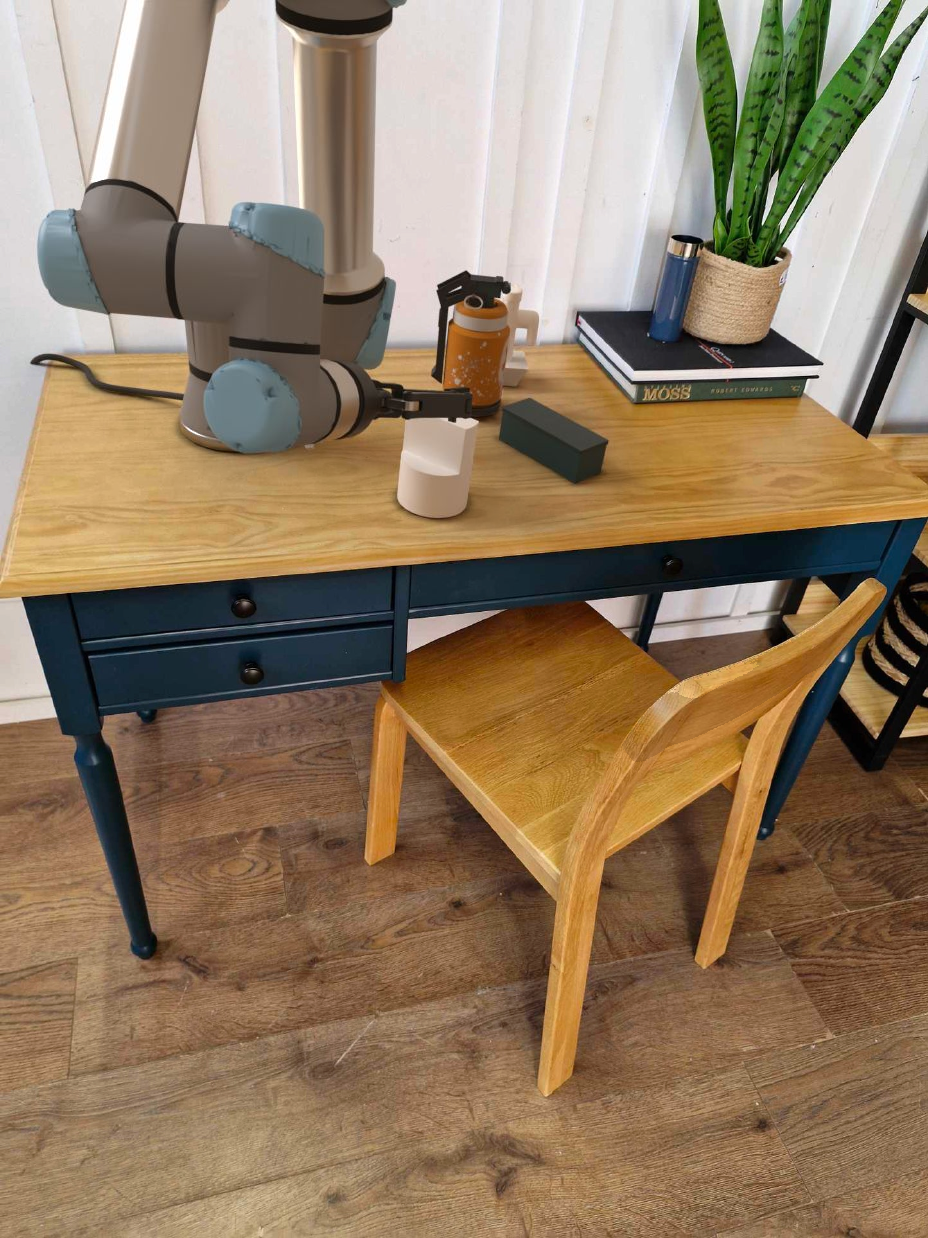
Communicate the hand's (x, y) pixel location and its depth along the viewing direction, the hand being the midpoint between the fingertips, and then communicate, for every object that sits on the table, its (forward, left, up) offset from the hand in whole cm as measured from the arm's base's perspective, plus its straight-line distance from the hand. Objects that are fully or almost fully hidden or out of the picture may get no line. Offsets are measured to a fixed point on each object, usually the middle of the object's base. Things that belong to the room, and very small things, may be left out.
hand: (410, 392), depth 107 cm
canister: (-17, +26, -16) cm, 35 cm away
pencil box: (+1, +26, -16) cm, 31 cm away
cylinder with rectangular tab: (+1, +4, -16) cm, 16 cm away
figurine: (-21, +38, -16) cm, 46 cm away
